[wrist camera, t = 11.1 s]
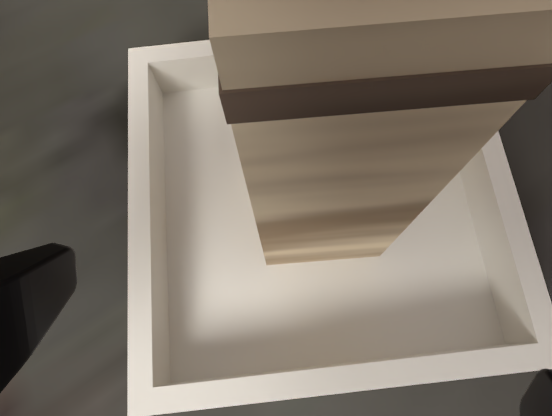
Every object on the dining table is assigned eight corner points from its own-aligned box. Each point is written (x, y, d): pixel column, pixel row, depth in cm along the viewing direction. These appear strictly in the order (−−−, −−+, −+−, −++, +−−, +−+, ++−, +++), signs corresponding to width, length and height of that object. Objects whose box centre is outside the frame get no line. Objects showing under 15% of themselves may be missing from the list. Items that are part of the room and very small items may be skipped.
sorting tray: (522, 364, 16) (571, 366, 14) (155, 406, 16) (127, 417, 13) (438, 58, 21) (461, 12, 18) (150, 90, 21) (128, 48, 18)
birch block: (381, 257, 17) (624, 7, 5) (265, 266, 17) (203, 42, 5) (364, 152, 18) (516, -248, 6) (258, 161, 19) (197, -221, 6)
